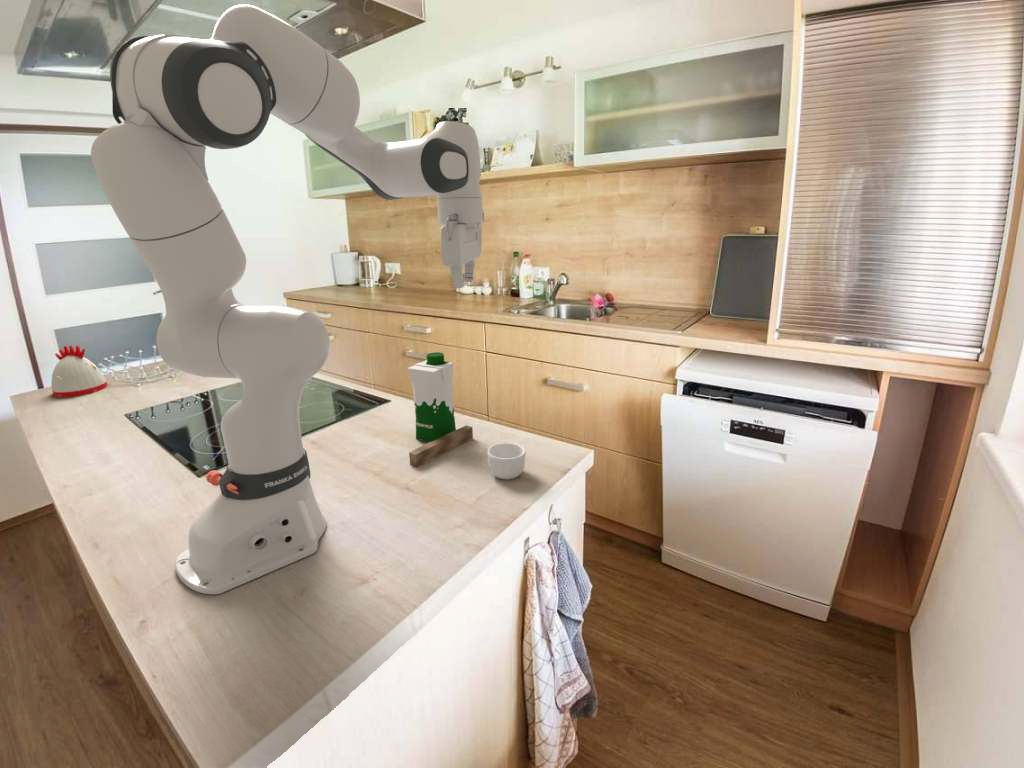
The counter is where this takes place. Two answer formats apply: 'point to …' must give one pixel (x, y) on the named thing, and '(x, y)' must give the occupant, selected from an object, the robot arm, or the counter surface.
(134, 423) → the counter surface
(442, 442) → the strip
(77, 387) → the crested hat
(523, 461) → the teacup
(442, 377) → the milk carton
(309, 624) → the counter surface
